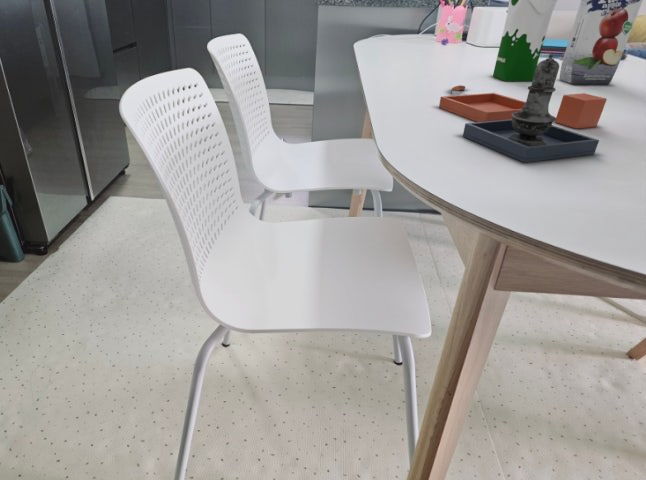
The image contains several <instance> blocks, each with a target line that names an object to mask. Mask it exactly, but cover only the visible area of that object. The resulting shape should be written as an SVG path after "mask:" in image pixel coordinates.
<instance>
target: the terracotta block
mask: <svg viewBox="0 0 646 480" xmlns="http://www.w3.org/2000/svg"><path fill="white" fill-rule="evenodd" d="M607 100H608V98H606V97H602V96H597V95H594V94H589V93H585V92H584V93H570V94H569V93H568V94H563V95H562V98H561V102H560V104H559V108H558V111H557V114H556V117H555V118H556V121H554V123H557V124H560V125H563V126H566V127H570V128H572V129H576V130H577V129H586V128H595V127H598V124H599V122H600V119H601V117H602V113H603V111H604V108H605V106H606V103H607Z"/></svg>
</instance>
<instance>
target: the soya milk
mask: <svg viewBox="0 0 646 480" xmlns="http://www.w3.org/2000/svg"><path fill="white" fill-rule="evenodd" d="M557 2H558V0H508V7H507V14H506V18H505V23H504V27H503V32H502V34H501V35H502V36H501V40H500V44H499V48H498V53H497V55H496V56H497V57H496V60H495V65H494V69H493V73H492V77H494V78H496V79H499V80H501V81H503V82H532V81H533V78H534V74H535V71H536V67H537V65H538V63H539V61H540V57H541V53H542V49H543V45H544V42H545V39H546V36H547V32H548V28H549V25H550V21H551V18H552V15H553V12H554V10H555V7H556V4H557Z"/></svg>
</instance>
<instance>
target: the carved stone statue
mask: <svg viewBox="0 0 646 480" xmlns="http://www.w3.org/2000/svg"><path fill="white" fill-rule="evenodd" d="M554 56H555V55H554V52H553V51H552V52H550V53H549V54H548V58H546V59H543V60H541V61H539V62H538V64H537V67H536V71H535V74H534V78H533V81H531V85H528V86H527V90H528V94H527V96H526V101H525V102H526V103H525V105H524V107H523V108H522V110H520V111H519V112H514V113H512V114H511V116H512V118H513V119H512V127H513V128H514V130H515V131H516V132H517V133H519V134H514V135H511V136H509V137H507V138H508V139H511V140H513V141H516V142H518V143H521V144H524V145H526V146H539V145H545V144H546V141H545V140H543V138H541V137H538V135H542V134H544V133H545V132H547V131H548V130H549V128H550V127H551V125H553V123H555V121H556V117H555V116H553V115H552V114H551V113H550V112H549V107H550V106H549V105H550V101H551V98H552V95H553V93H554V92H556V87H555V83H556V79H557V77H558V73H559V70H560V64H559V62H558V61H557V60H555V58H554Z"/></svg>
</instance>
